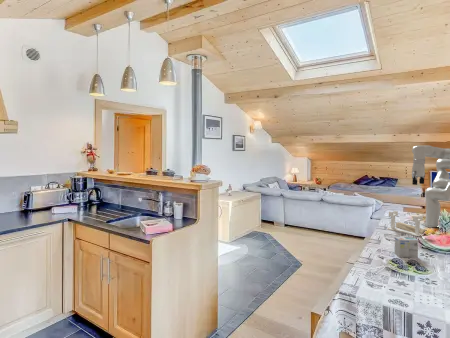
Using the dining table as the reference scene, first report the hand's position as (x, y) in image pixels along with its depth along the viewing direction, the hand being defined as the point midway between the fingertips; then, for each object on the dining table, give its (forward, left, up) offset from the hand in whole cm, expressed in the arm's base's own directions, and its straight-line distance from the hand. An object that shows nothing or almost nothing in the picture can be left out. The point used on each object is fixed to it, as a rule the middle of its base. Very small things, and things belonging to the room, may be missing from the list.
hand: (418, 184), depth 224 cm
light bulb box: (+61, +25, -37) cm, 75 cm away
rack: (+13, -2, -36) cm, 39 cm away
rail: (+5, -2, -37) cm, 37 cm away
